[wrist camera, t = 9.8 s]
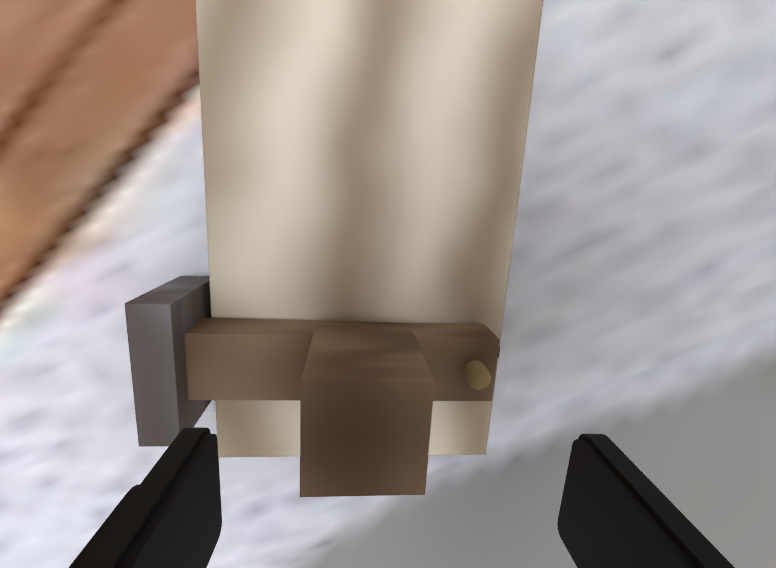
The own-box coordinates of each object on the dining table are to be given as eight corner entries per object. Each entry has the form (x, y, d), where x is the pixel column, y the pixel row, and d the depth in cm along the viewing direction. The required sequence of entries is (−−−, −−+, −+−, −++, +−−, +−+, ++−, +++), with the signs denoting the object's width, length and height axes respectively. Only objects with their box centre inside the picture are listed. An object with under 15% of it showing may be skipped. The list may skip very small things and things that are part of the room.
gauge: (476, 286, 20) (565, 353, 12) (465, 390, 22) (537, 517, 13) (180, 276, 19) (40, 344, 10) (187, 388, 20) (69, 529, 12)
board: (535, -89, 17) (560, -126, 15) (474, 432, 23) (486, 455, 21) (207, -132, 16) (186, -180, 14) (230, 433, 22) (217, 458, 20)
